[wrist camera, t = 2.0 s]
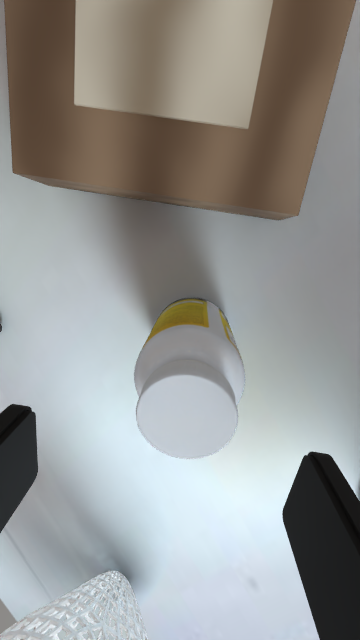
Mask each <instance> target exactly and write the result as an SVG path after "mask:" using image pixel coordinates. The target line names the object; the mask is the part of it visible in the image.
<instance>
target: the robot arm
mask: <svg viewBox="0 0 360 640" xmlns="http://www.w3.org/2000/svg"><path fill="white" fill-rule="evenodd" d="M37 472H38V461H37V438H36V415H35V412H32V410H31V408H30V407H28V406H22V405H16V404H12V405H10V406H8V407H7V408H6V409H5V410H4V411H3V412H2V413H0V533H1V531H2V530H3V528H4V527H5V525H6V523H7V522H8V520H9V519H10V517H11V516H12V514H13V513H14V511H15V510H16V508H17V507H18V505H19V504H20V502H21V501H22V499H23V498H24V496H25V495H26V493H27V491H28V490H29V488H30V487H31V485H32V484H33V482H34V480H35V478H36V476H37ZM283 522H284V525H285V529H286V532H287V535H288V538H289V542H290V545H291V548H292V551H293V554H294V558H295V561H296V564H297V567H298V571H299V574H300V577H301V580H302V583H303V587H304V590H305V593H306V596H307V600H308V603H309V606H310V609H311V612H312V616H313V619H314V622H315V625H316V629H317V632H318V635H319V638H320V640H360V501H359V500H358V498H357V497H356V495H355V493H354V492H353V490H352V489H351V487H350V485H349V484H348V482H347V480H346V479H345V477H344V476H343V474H342V472H341V471H340V469H339V468H338V466H337V464H336V463H335V461H334V460H333V458H332V457H331V456H330V455H329V454H324V453H317V452H310V453H309V454H308V456H307V455H305V456H304V457H303V459H302V462H301V464H300V467H299V470H298V472H297V475H296V477H295V480H294V482H293V485H292V488H291V490H290V493H289V495H288V498H287V501H286V503H285V506H284V508H283Z"/></svg>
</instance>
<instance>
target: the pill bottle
mask: <svg viewBox="0 0 360 640" xmlns="http://www.w3.org/2000/svg"><path fill="white" fill-rule="evenodd" d="M134 381H135V387H136V390H137V393H138V396H139V400H138V403H137V407H136V420H137V423H138V427H139V429H140V431H141V433H142V435H143V436H144V438H145V439H146V440H147V442H149V443H150V444H151V445H152V446H153V447H154V448H156V449H157V450H159V451H160V452H162V453H164V454H167V455H169V456H172V457H176V458H181V459H197V458H203V457H206V456H209V455H212V454H214V453H216V452H218V451H219V450H221V449H222V448H224V447H225V446H226V445H227V444H228V443H229V441H230V440H231V439H232V437H233V435H234V433H235V431H236V428H237V423H238V411H237V404H238V403H239V401H240V399H241V397H242V394H243V391H244V386H245V371H244V366H243V362H242V359H241V356H240V353H239V350H238V348H237V345H236V342H235V340H234V337H233V334H232V331H231V328H230V326H229V323H228V321H227V319H226V317H225V315H224V314H223V312H222V311H221V310H220V309H219V308H218V307H217V306H216V305H214V304H213V303H211V302H209V301H207V300H204V299H200V298H184V299H180V300H177V301H175V302H173V303H172V304H170V305H169V306H168V307H166V308H165V309H164V310H163V312H162V313H161V314H160V316H159V318H158V319H157V321H156V323H155V325H154V327H153V329H152V331H151V333H150V335H149V337H148V339H147V340H146V342H145V344H144V346H143V348H142V350H141V352H140V354H139V356H138V359H137V362H136V365H135V372H134Z"/></svg>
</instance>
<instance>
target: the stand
mask: <svg viewBox="0 0 360 640" xmlns="http://www.w3.org/2000/svg"><path fill="white" fill-rule="evenodd" d="M355 2H356V0H4V5H5V26H6V46H7V66H8V87H9V107H10V127H11V147H12V168H13V173H15V174H18V175H21V176H23V177H26V178H29V179H32V180H34V181H37V182H40V183H43V184H45V185H48V186H54V187H61V188H67V189H74V190H81V191H87V192H94V193H101V194H107V195H114V196H120V197H127V198H134V199H140V200H147V201H154V202H160V203H167V204H174V205H180V206H187V207H194V208H200V209H207V210H214V211H220V212H227V213H234V214H240V215H247V216H254V217H260V218H267V219H274V220H282V219H286V218H290V217H294V216H298V214H299V211H300V207H301V203H302V199H303V196H304V192H305V188H306V184H307V181H308V177H309V173H310V170H311V166H312V162H313V158H314V155H315V151H316V147H317V144H318V140H319V136H320V132H321V129H322V125H323V121H324V118H325V114H326V110H327V106H328V103H329V99H330V95H331V91H332V88H333V84H334V80H335V77H336V73H337V69H338V65H339V62H340V58H341V54H342V51H343V47H344V43H345V39H346V36H347V32H348V28H349V24H350V21H351V17H352V13H353V10H354V6H355Z"/></svg>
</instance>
